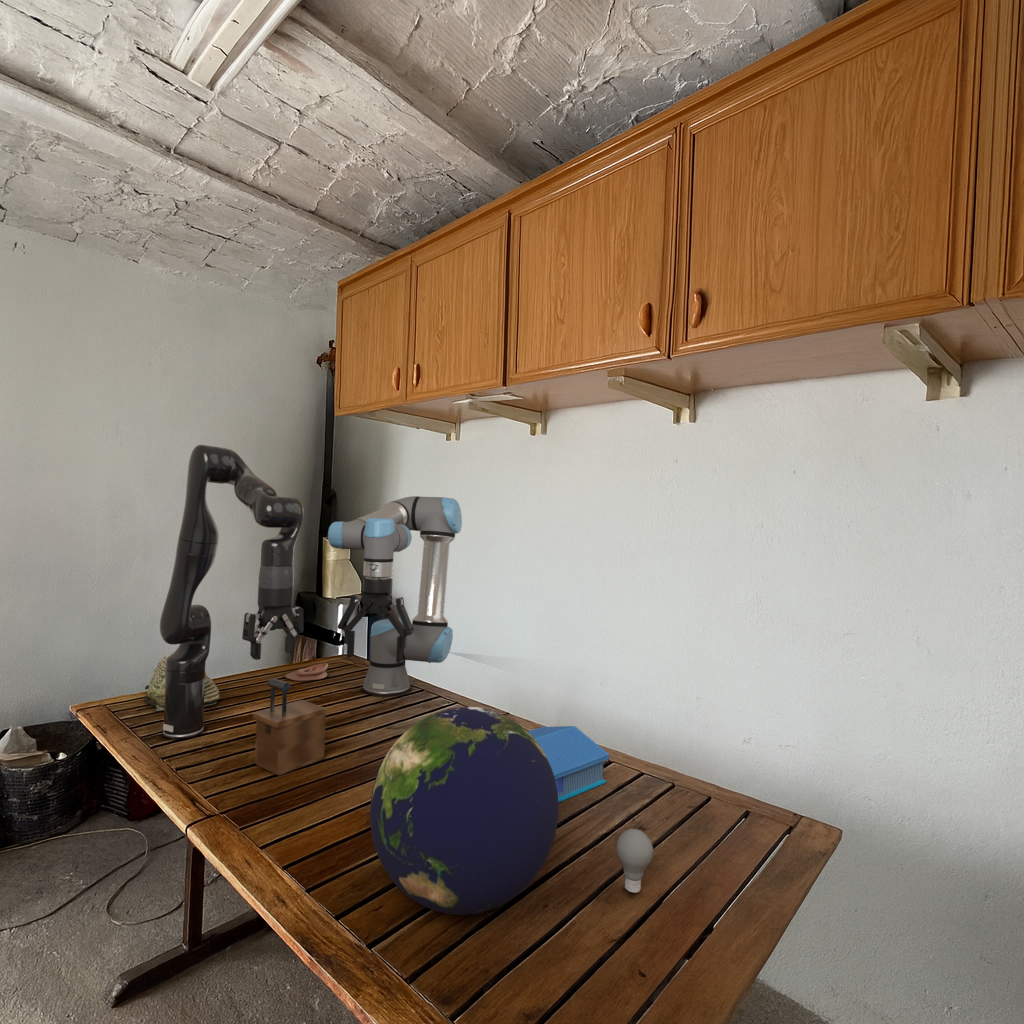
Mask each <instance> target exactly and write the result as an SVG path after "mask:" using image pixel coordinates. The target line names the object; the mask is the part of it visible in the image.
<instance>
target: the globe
mask: <svg viewBox="0 0 1024 1024" xmlns="http://www.w3.org/2000/svg"><path fill="white" fill-rule="evenodd" d="M527 731H528V730H526V728H524V727H523V726H522V725H521V724H519V723H518V722H516V721H515V720H513V719H512V718H510V717H508V716H506V715H504V714H502V713H499V712H497V711H494V710H491V709H487V708H482V707H480V706H479V707H478V706H461V707H460V706H459V707H453V708H447V709H442V710H441V711H437V712H435V713H433V714H429V715H428V716H426V717H424V718H422V719H421V720H419V721H418V722H416V723H415V724H413V725H412V726H410V728H408V729H407V730H406V731H404V732H403V734H401V736H400V737H399V738H398V739H397V740H396V741H394V743H393V745H392V746H391V748H390V749H389V750H388V751H387V753H386V755H385V757H384V758H383V761H382V762H381V765H380V767H379V769H378V771H377V774H376V777H375V780H374V784H373V787H372V792H371V798H370V807H369V821H370V830H371V831H370V832H371V837H372V843H373V845H374V848H375V851H376V854H377V857H378V859H379V861H380V863H381V865H382V867H383V869H384V871H385V872H386V874H387V876H388V877H389V878H390V879H391V881H392V882H393V883H394V885H395V886H397V887H398V888H399V889H400V890H401V891H402V893H404V894H405V895H406V896H407V897H408V898H409V899H411V900H413V901H414V902H416V903H417V904H419V905H421V906H423V907H425V908H427V909H430V910H432V911H435V912H438V913H442V914H447V915H454V916H467V915H468V916H469V915H476V914H481V913H485V912H488V911H492V910H494V909H497V908H499V907H501V906H503V905H505V904H507V903H508V902H510V901H511V900H513V899H514V898H516V897H517V896H518V895H520V894H521V892H523V891H524V890H525V889H526V888H527V887H528V886H529V885H530V884H531V883H532V882H533V881H534V879H535V878H536V877H537V876H538V875H539V873H540V872H541V870H542V869H543V866H544V865H545V863H546V861H547V859H548V857H549V855H550V852H551V850H552V847H553V845H554V842H555V838H556V834H557V828H558V823H559V812H560V809H559V807H560V805H559V803H560V802H559V803H558V792H557V786H556V781H555V777H554V774H553V771H552V768H551V766H550V763H549V761H548V758H547V756H546V755H545V753H544V751H543V750H542V748H541V746H540V745H539V744H538V742H537V741H536V740H535V739H534V738H533V737H532V736H531V735H530V734H529V732H527Z"/></svg>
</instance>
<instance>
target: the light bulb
mask: <svg viewBox="0 0 1024 1024" xmlns="http://www.w3.org/2000/svg"><path fill="white" fill-rule="evenodd" d="M615 849H616V854H617V857H618V859H619V861H620V863H621V865H622V867H623V873H624V874H623V875H624V876H625V878H624V888H625V890H627V891H628V892H630V893H634V894H635V893H639V892H640V891H641V889H642V887H641V886H642V879H643V877H644V875H645V871H646V868H647V867H648V866H649V864H650V863H651V861H652V859H653V855H654V847H653V843H652V841H651V838H649V836H648V835H647V834H646V833H645V832H643V831H642V830H641V829H636V828H629V829H627V830H625V831H623V832H622V833H621V834H620V835H619V837H618V839H617V841H616V847H615Z"/></svg>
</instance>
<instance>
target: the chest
mask: <svg viewBox="0 0 1024 1024" xmlns="http://www.w3.org/2000/svg"><path fill="white" fill-rule="evenodd" d="M326 722H327V713H325V714H322V715H319V716H315V717H312V718H309V719H306V720H302V721H299V722H296V723H292V724H289V725H286V726H282V727H279V728H275V727H273V726H271V725H268V724H266V723H263V722H261V721H258V720H256V719H255V725H256V726H255V749H254V764H255V765H257V766H258V767H260V768H263V769H265V770H267V771H269V772H271V773H272V774H275V775H277V776H281V775H284V774H287V773H289V772H292V771H295V770H297V769H301V768H304V767H306V766H309V765H311V764H314V763H316V762H319V761H322V760H324V759H325V751H326Z"/></svg>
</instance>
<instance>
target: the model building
mask: <svg viewBox="0 0 1024 1024" xmlns="http://www.w3.org/2000/svg"><path fill="white" fill-rule="evenodd" d="M526 731H527V732H529V734H530V735H531V736H532V737H533V738H534V739H535V740H536V741H537V742H538V744H539V745H540V746H541V748H542V750H543V751H544V753H545V755H546V756H547V758H548V761H549V763H550V766H551V768H552V771H553V774H554V777H555V781H556V786H557V792H558V803H561V802H563V801H566V800H568V799H570V798H573V797H575V796H577V795H580V794H583V793H585V792H587V791H590V790H591V789H594V788H597V787H599V786H601V785H604V784H606V783H607V780H606V779H604V761H607V760H609V759H610V754H609V753H608V752H607V751H606V750H605V749H603V747H601V746H600V745H598V744H597V743H596V742H595V741H594V740H592V738H590V736H588V735H587V734H586V733H584V732H583V731H582V730H581V729H580V728H578V727H577V726H576V725H559V726H558V725H557V726H541V727H538V728H533V729H530V730H526Z"/></svg>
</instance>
